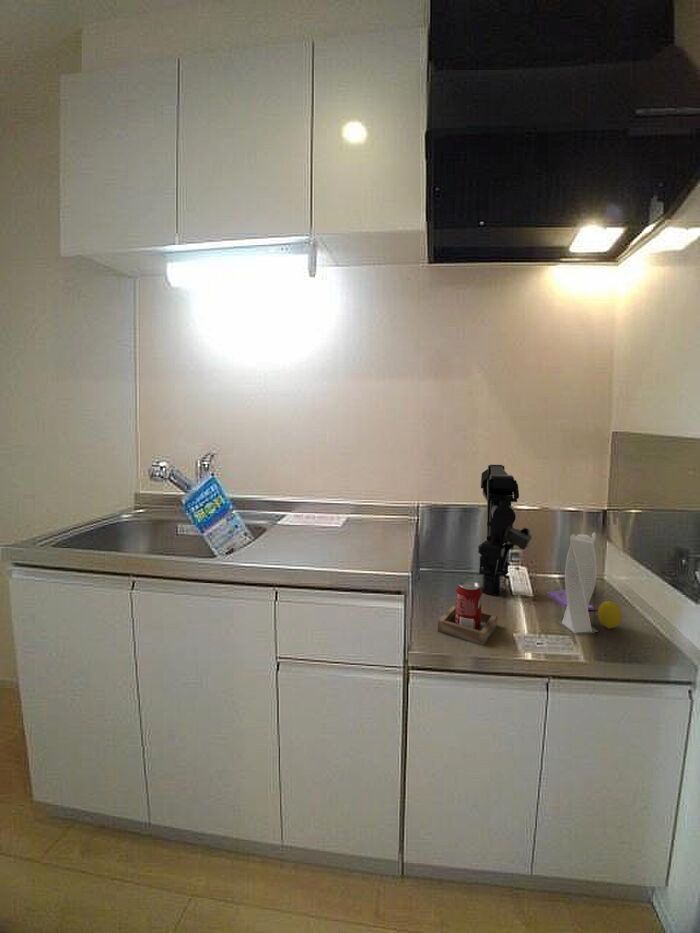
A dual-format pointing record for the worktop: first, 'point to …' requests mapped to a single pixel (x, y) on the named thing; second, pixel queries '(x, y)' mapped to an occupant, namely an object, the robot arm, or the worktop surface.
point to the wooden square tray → (474, 635)
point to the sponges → (562, 598)
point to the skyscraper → (579, 583)
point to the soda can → (468, 604)
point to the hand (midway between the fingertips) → (497, 571)
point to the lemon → (609, 614)
